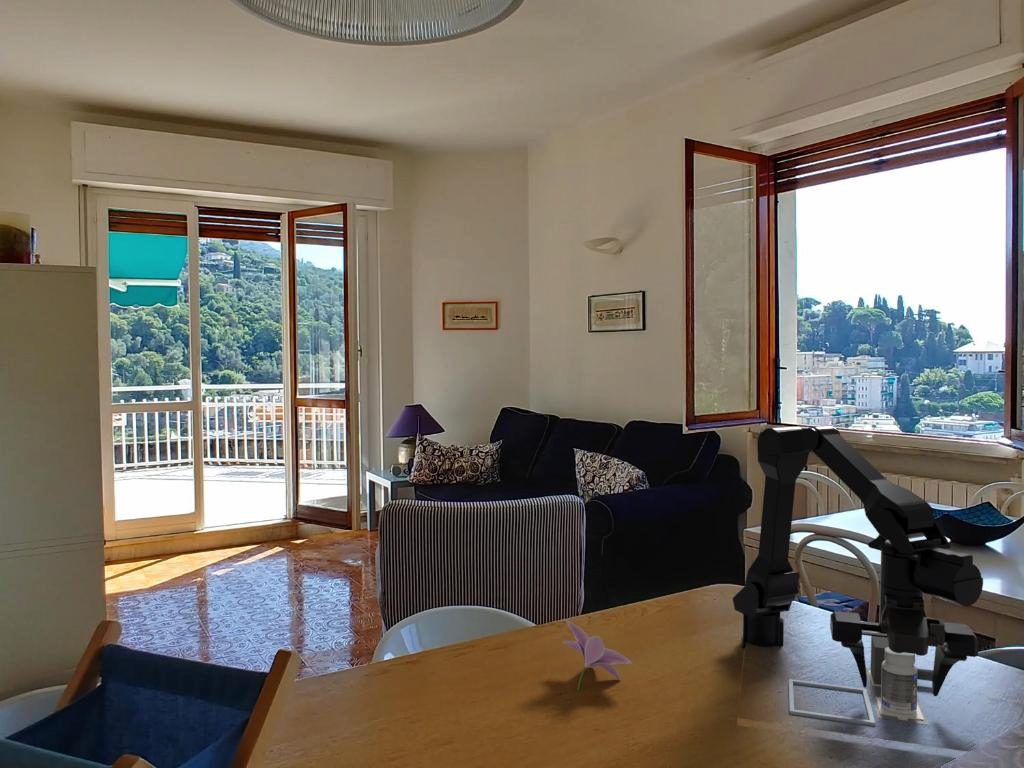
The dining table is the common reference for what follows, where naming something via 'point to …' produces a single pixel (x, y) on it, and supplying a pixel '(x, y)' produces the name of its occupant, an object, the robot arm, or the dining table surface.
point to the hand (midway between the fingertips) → (899, 690)
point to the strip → (885, 714)
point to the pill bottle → (899, 682)
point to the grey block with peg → (878, 657)
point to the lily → (594, 652)
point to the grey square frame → (827, 716)
